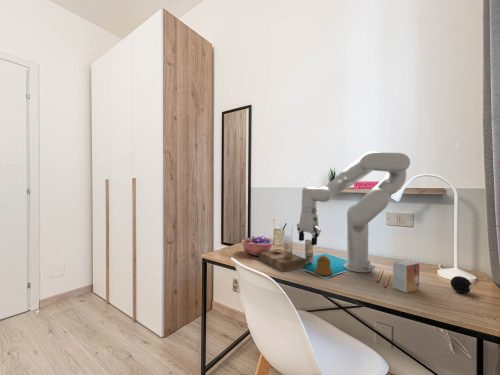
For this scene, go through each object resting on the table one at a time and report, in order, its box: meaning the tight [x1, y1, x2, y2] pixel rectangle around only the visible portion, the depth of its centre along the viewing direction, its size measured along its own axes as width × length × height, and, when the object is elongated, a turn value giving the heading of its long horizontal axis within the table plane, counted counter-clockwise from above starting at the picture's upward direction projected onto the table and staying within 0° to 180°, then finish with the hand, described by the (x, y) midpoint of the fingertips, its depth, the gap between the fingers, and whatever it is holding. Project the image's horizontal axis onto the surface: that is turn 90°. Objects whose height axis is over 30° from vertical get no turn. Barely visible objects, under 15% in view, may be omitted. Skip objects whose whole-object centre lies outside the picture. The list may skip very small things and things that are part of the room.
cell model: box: [241, 235, 274, 257], centre depth 144 cm, size 17×20×11 cm
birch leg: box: [304, 239, 314, 263], centre depth 128 cm, size 4×4×12 cm
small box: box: [392, 259, 420, 293], centre depth 96 cm, size 8×6×10 cm
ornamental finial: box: [314, 255, 333, 277], centre depth 112 cm, size 8×8×8 cm
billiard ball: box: [450, 275, 473, 294], centre depth 92 cm, size 6×6×6 cm
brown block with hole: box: [258, 241, 307, 272], centre depth 128 cm, size 22×14×12 cm, turn 29°
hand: (307, 242), depth 128 cm, fingers open, 9 cm apart
